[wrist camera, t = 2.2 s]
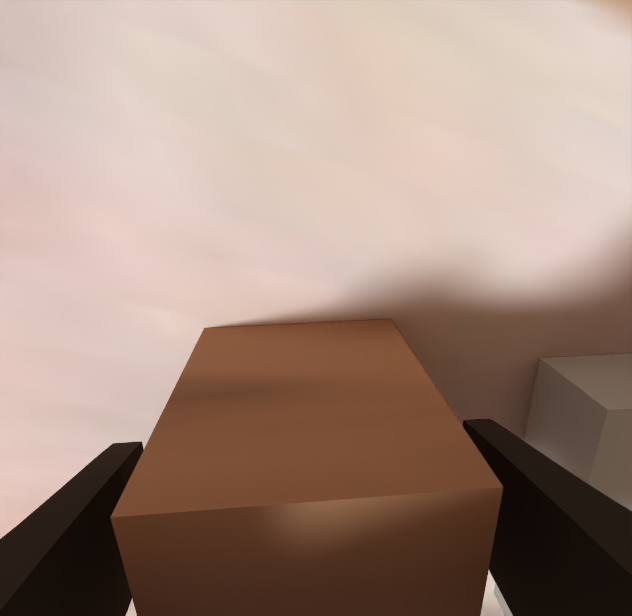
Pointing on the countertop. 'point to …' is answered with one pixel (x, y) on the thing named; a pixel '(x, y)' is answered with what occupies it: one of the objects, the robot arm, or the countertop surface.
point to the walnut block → (307, 483)
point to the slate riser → (585, 422)
